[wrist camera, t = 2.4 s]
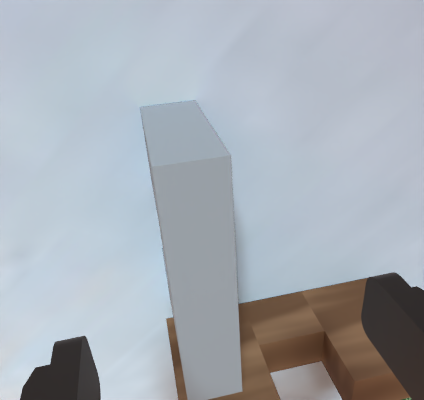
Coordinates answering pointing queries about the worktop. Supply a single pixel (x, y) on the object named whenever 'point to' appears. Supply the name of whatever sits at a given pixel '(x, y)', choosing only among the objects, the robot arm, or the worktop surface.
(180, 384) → the wooden u-shaped brace
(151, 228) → the worktop surface
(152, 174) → the grey tall rectangular block
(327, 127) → the worktop surface
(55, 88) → the worktop surface
